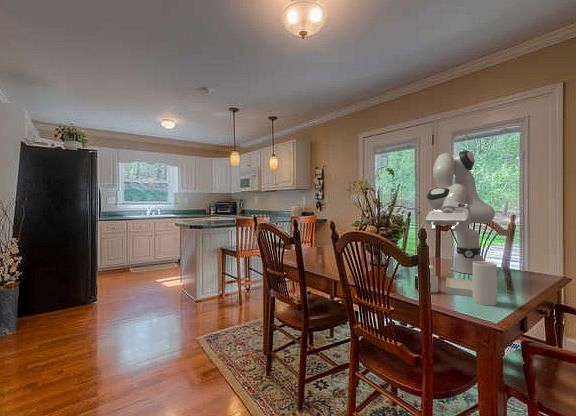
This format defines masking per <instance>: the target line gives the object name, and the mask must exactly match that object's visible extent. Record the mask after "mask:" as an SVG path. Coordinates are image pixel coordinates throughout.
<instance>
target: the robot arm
mask: <svg viewBox="0 0 576 416" xmlns="http://www.w3.org/2000/svg"><path fill="white" fill-rule="evenodd" d="M475 161H476V160H475V156H474V155H473V154H472V152H471V151H469V150H461V151H459V152H458V153H456V154H453V155H452V154H451V153H448V152H447V153H441V154H440V155H439V154H438V157H436V160H435V161H434V163H433V167H432V174H433V175H432V177H433V179H434V182H435V184H436V187H435V188H432V189H431V190H429V192H428V193H427V195H426V198H427V201H428V204H429V206H430V208H431V210H430V211H428V212H429V213H428V214H427V215H426V217H425V222H426V224H427V225H430V226H431V230H432V231H436V230H437V226H438V225H439V226H451V231H452V232H455V234H456V241H457V242H456V243H457V245H456V254H455V255H454V256H453V258H452V259H453V261H452V262H453V263H452V264H453V265H452V266H451V267H450V268H449V270H450V271H454V272H458V273H463V274H469V275H473V262H474V261H485V259H484V257H483V256H482V255H481V254H482V253H481V252H482V249H481V245H480V244H481V243H480V242H481V241H480V240H481V239H480V237H481V236H480V233H479V232H477V231H476V230H474V229H472V228H470V227H469V226H468V225H470V224H488V223H491V222H492V221H493V220H494V219H495V215H496V211H495V209H494V207H493V206H491V204H487V203H486V202H485V201H483V200H482V199H481V198H480V196H479V195H478V191H477V188H476V187H477V186H476V180H475V177H474V175H473V174H472V173H473V172H472V170H473V167H474V165H475ZM453 179H454V184H453ZM436 225H437V226H436Z"/></svg>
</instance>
